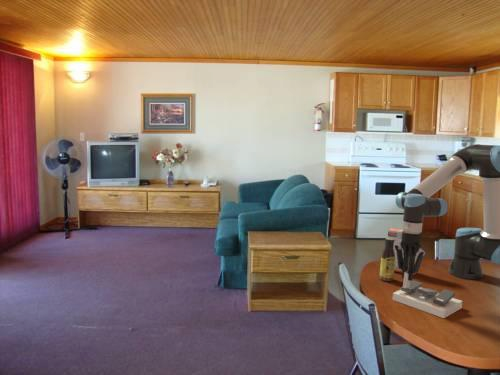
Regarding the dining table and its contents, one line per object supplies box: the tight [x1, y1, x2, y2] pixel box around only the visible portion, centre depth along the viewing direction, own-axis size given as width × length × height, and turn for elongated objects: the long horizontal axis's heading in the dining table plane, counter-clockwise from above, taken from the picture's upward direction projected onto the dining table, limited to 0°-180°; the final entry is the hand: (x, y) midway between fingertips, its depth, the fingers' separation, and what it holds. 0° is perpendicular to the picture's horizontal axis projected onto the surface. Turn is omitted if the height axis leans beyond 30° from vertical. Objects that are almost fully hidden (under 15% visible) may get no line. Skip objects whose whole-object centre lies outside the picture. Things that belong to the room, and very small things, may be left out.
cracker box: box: [387, 227, 419, 276], centre depth 216 cm, size 14×6×21 cm, turn 58°
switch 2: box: [433, 288, 456, 306], centre depth 173 cm, size 9×4×2 cm, turn 130°
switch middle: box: [417, 287, 439, 295], centre depth 179 cm, size 9×4×2 cm, turn 131°
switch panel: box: [392, 287, 463, 319], centre depth 179 cm, size 15×22×4 cm
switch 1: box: [400, 279, 423, 294], centre depth 184 cm, size 9×4×2 cm, turn 130°
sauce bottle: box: [379, 237, 395, 282], centre depth 205 cm, size 6×6×20 cm
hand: (406, 287), depth 181 cm, fingers closed
